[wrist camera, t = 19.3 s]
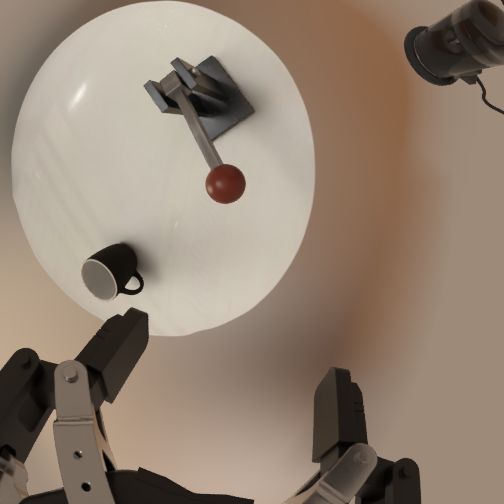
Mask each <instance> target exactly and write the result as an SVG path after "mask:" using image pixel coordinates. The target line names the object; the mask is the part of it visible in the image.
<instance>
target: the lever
mask: <svg viewBox="0 0 504 504" xmlns="http://www.w3.org/2000/svg"><path fill="white" fill-rule="evenodd" d="M160 84H161V86H162V88H163V90H164V92H165V94H166V96H167V97H169V98H171V99H172V100H174V101H175V102H177V103H178V105H179V107H180V109H181V111H182V113H183V115H184V117H185V119H186V121H187V123H188V125H189V127H190V129H191V131H192V133H193V135H194V137H195V139H196V141H197V144H198V146H199V148H200V150H201V152H202V154H203V156H204V158H205V160H206V162H207V164H208V166H209V168H210V170H211V171H210V173H209V174H208V176H207V178H206V190H207V193H208V194H209V196H210V197H211V198H212V199H213V200H214V201H216V202H218V203H222V204H229V203H233V202H235V201H237V200H238V199H239V198H240V197H241V196H242V195H243V193H244V191H245V187H246V181H245V177H244V175H243V173H242V172H241V171H240V170H239V169H238V168H237V167H235V166H233V165H229V164H223V162H222V160H221V158H220V156H219V155H218V153H217V151H216V149H215V147H214V145H213V143H212V141H211V139H210V137H209V135H208V134H207V132H206V130H205V128H204V126H203V124H202V122H201V120H200V118H199V116H198V115H197V113H196V111H195V109H194V107H193V105H192V103H191V101H190V100H189V98H188V95H189V94H191V93H192V92H193V91H192V90H191V89H190V88H189V87H188V85H187V84H186V83H185V81H184V80H183V79H182V77H181V76H180V75H179V73H178V72H176V71H175V70H173V71H172V72H171V73H169V74H168V75H167V76H166V77H165V78H163V79H162V80H161V81H160Z"/></svg>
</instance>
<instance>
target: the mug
mask: <svg viewBox="0 0 504 504" xmlns="http://www.w3.org/2000/svg"><path fill="white" fill-rule="evenodd" d="M136 266H137V258H136V255H135V253H134V251H133V250H132V249H131V248H130V247H129V246H127V245H125V244H114V245H111V246H109V247H106V248H104V249H102V250H100V251H99V252H97V253H95V254H94V255H92V256H91V257H89V258H88V259H87V260H85V261H84V262H83V264H82V266H81V277H82V280H83V283H84V285H85V287H86V288H87V290H88V291H89V292H90V293H91V294H92V295H93V296H94V297H96V298H97V299H99V300H102V301H111V300H113V299H114V298H115V297H116V296H117V295H118V294H119V293H124V294H127V295H136V294H138V293H139V292H141V291H142V289H143V286H144V281H143V278H142V277H141V275H140V274H139V273H138V272H137V270H136ZM132 276H134V277H136V278H137V279H138V280H139V282H140V287H139V288H138V289H136V290H129V289H126V288H125V286H126V284H127V283H128V282H129V280H130V279H131V277H132Z"/></svg>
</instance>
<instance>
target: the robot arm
mask: <svg viewBox="0 0 504 504" xmlns="http://www.w3.org/2000/svg"><path fill="white" fill-rule="evenodd" d="M501 1H502V3H503V5H504V0H501ZM413 51H414V54H415V56H416V59H417V60H418V62H419V63H420V65H421V66H422V67H423V68H424V69H425V70H426V71H427V72H428V73H430V74H431V75H433V76H435V77H437V78H442V79H445V78H450V79H452V80H454V79H459V78H461V79H462V80H464V81H465V82H466V83H468V84H469V85H470V84H476V81H477V82H478V83H479V85H480V86H481V88H482V91H483V94H482V99H483V101H484V102H485V103H486V104H487V105H488V106H489V107H490V108H492V109H494V110H496V111H498V112H500V113H502V114H504V111H502V110H501V109H499V108H496V107H494V106H493V105H491V104H490V103H489V102H488V101H487V100H486V99H485V96H486V90H485V88H484V86H483V84H482V82H481V81H480V79H479V78H478V77H477V74H481V73H482V69H484V68H490V67H494V66H500V65H504V12H503V11H502V10H501V9H500V8H499V7H497V6H496V5H495V4H493V3H492V2H490V1H488V0H471V1H469V2H468V3H466V4H464V5H462V6H461V7H459V8H457V9H456V10H454V11H453V12H451V13H450V14H448V15H447V16H445V17H443V18H442V19H441V20H439V21H437V22H436V23H434V24H432V25H431V26H430V27H427V29H426V28H425V30H424V31H422V32H420V33H419V34H417V35H416V36H415V38H414V40H413ZM148 338H149V331H148V314H147V313H145V312H143V311H140V310H138V309H135V308H133V307H131V308H130V309H129V310H128V311H127V312H126V313H125V314H124V316H121V315H119V314H117V315H115V316H113V317H111V318H110V319H108V320H107V321H106V322H105V323H104V325H103V326H102V327H101V329H99V331H98V332H97V333H96V335H94V336H93V338H92V339H91V340H90V341H89V342H88V344H87V345H86V346H85V347H84V349H83V350H82V351H81V352H80V354H79V355H78V356H77V357H76V358H75V359H74V360H67V361H64V362H62V363H60V364H55V363H51V362H47V361H43V360H40V359H39V357H38V355H37V353H36V352H35V351H34V350H32V349H30V348H22V349H19V350H18V351H16V352H15V353H14V354H13V355H12V357H11V358H10V359H9V361H8V362H7V363H6V364H5V365H4V367H3V368H2V369H1V371H0V504H254V500H252V499H246V498H239V497H235V496H230V495H221V494H220V495H219V494H197V493H193V492H191V491H189V490H187V489H185V488H183V487H182V486H180V485H178V484H176V483H175V482H173V481H171V480H170V479H168V478H166V477H164V476H161V475H158V474H156V473H153V472H151V471H148V470H146V469H143V468H141V467H139V469H138V471H134V470H118V469H117V466H116V463H115V459H114V457H113V454H112V451H111V449H110V446H109V443H108V439H107V435H106V431H105V426H104V422H103V417H102V412H101V408H100V406H101V405H102V403H103V401H104V400H105V401H107V402H109V403H113V401H114V400H115V398H116V396H117V395H118V393H119V391H120V389H121V388H122V386H123V385H124V383H125V381H126V380H127V378H128V376H129V375H130V373H131V371H132V370H133V368H134V367H135V365H136V363H137V362H138V360H139V358H140V357H141V355H142V354H143V352H144V350H145V349H146V346H147V343H148ZM54 409H56V414H57V419H56V420H55V421H54V423H53V431H54V439H55V445H56V451H57V457H58V462H59V467H60V472H61V477H62V481H63V485H64V487H62V488H59V489H55V490H52V491H48V492H44V493H40V494H36V495H31V496H29V495H28V493H27V489H26V483H27V481H28V474H27V470H26V468H25V466H24V463H25V461H26V459H27V457H28V455H29V453H30V451H31V449H32V447H33V445H34V443H35V441H36V439H37V438H38V436H39V434H40V432H41V430H42V429H43V427H44V425H45V423H46V422H47V420H48V418H49V416H50V415H51V413H52V411H53V410H54ZM312 462H314V463H321V466H320V469H319V470H318V471H317V472H316V473H315V474H314V475H313V476H312V477H311V478H310V479H309V480H308V481H307V482H306V483H305V484H304V485H303V486H302V487H301V488H300V489H299V490H298V491H297V492H296V493H295V494H294V495H292V496H291V497H290V498H289V499H287V500H286V501H284V502H283V503H282V504H349V502H350V501H351V499H352V498H353V497H354V496H355V497H356V498H355V504H421V489H420V474H419V468H418V465H417V464H416V462H414V461H413V460H412V459H409V458H403V459H400V460H398V461H397V462H393V461H389V460H386V459H383V458H380V457H378V456H377V454H376V452H375V451H374V449H373V448H372V447H370V446H369V445H368V441H367V432H366V421H365V413H364V406H363V397H362V392H361V390H360V388H359V387H358V385H357V383H353V382H351V376H350V371H349V370H347V369H342V368H336V367H331V368H330V370H329V371H328V373H327V374H326V375H325V377H324V378H323V380H322V381H321V383H320V384H319V386H318V387H317V389H316V392H315V396H314V429H313V455H312Z"/></svg>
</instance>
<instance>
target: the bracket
mask: <svg viewBox="0 0 504 504" xmlns="http://www.w3.org/2000/svg"><path fill="white" fill-rule="evenodd" d="M171 64H172V66H173V67H174V68H175V70H176V71H177V72H178V73H179V75H180V76H181V77H182V79H183V80H184V81H185V83H186V84H187V85H188V87H189V88H190V89H191V90H192V91H193V92H192V93H191V94H189V95H188V98H189V100H190V101H191V103H192V105H193V107H194V109H195V111H196V113H197V115H198V116H199V118H200V120H201V122H202V124H203V126H204V128H205V130H206V132H207V134H208V135H209V137H210V139H211V141H213V140H214V139H215V138H217V137H218V136H220V135H221V134H223V133H224V132H225V131H227V130H228V129H230V128H231V127H233V126H234V125H236V124H237V123H239V122H240V121H242V120H243V119H245V118H246V117H248V116H249V115H251V114H253V113H254V112H255V111H254V109H253V108H252V106H251V105H250V104H249V102H248V101H247V99H246V98H245V97H244V95H243V94H242V93H241V91H240V90H239V89H238V87H237V86H236V85H235V83H234V82H233V81H232V79H231V78H230V77H229V75H228V74H227V73H226V72H225V70H224V69H223V68H222V66H221V65H220V64H219V63H218V61H217V60H216V59H215V58H214V57H213V56H210V57H209V58H207V59H206V60H205V61H203V62H202V63H200V64H199V65H198V66H196V67H194V66H192V65H190V64H188V63H187V62H185V61H183V60H181V59H179V58H176V59H175V60H173V61H172V62H171ZM144 87H145V89H146V90H147V92H148V93H149V94H150V96H151V97H152V99H153V102H154V103H155V104H156V105H157V106H158V107H159V109H160V110H161V112H162V113H171V114H180V115H183V113H182V111H181V109H180V107H179V105H178V103H177V102H175V101H174V100H172V99H171V98H169V97H167V96H166V94H165V92H164V90H163V88H162V86H161V84H160V83H158V82H155V81H151V80H149V81H148V82H147V83H146V84H145V85H144Z"/></svg>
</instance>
